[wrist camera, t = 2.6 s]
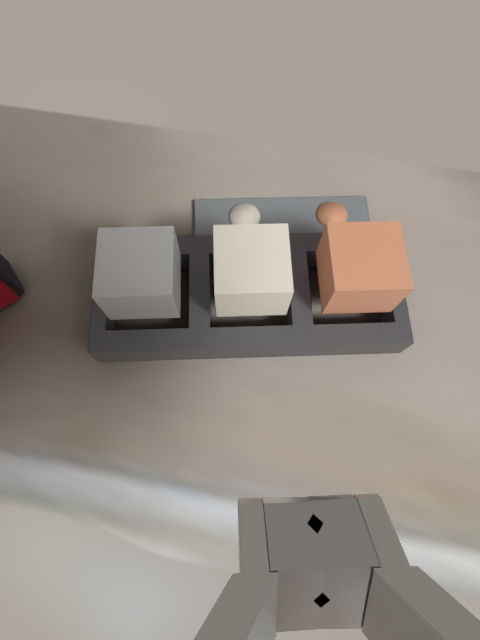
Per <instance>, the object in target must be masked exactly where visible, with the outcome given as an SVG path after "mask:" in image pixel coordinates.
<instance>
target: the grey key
mask: <svg viewBox="0 0 480 640" xmlns="http://www.w3.org/2000/svg"><path fill="white" fill-rule="evenodd" d="M92 298H93V300H94V301H95V302H96V303H97V305H98V306H99V307H100V308H101V309H102V311H103V312H104V313H105V314H106V315H107V317H108V318H109V319H110V320H119V319H155V318H180V305H181V253H180V249H179V245H178V241H177V237H176V233H175V228H174V226H144V227H99V228H98V233H97V244H96V255H95V266H94V277H93V288H92Z"/></svg>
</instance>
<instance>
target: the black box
mask: <svg viewBox="0 0 480 640" xmlns="http://www.w3.org/2000/svg"><path fill="white" fill-rule="evenodd" d="M23 292H24V289H23V287H22V285H21V283H20V281H19V280H18V278H17V276H16V274H15V272H14V271H13V269H12V267H11V265H10V264H9V262H8V261H7V260H6V259H5V258H4V257H3V256H2V255H1V254H0V310H1V309H3V308H4V307H6V306H8V305H10V304H12V303H13V302H15V301H17V300H18V299H19V297H18V296H19V295H21V294H22V293H23Z"/></svg>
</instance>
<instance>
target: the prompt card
mask: <svg viewBox="0 0 480 640" xmlns="http://www.w3.org/2000/svg"><path fill="white" fill-rule="evenodd" d="M327 222H370V218H369V212H368V206H367V199H366V196H342V197H294V198H245V199H197V200H195V235H213V225H234V224H279V223H288V228H289V233H323V231H324V229H325V226H326V223H327Z"/></svg>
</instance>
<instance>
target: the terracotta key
mask: <svg viewBox="0 0 480 640" xmlns="http://www.w3.org/2000/svg"><path fill="white" fill-rule="evenodd" d="M316 261H317V271H318V280H319V289H320V299H321V308H322V314H336V313H372V312H391V311H392V310H393V309H394V308H395V307H396V306H397V305H398V304H399V303H400V302H401V301H402V300H403V299H404V298H405V297H406V296H407V295H408V294H409V293H410V292H411V291H412V290H413V289H414V288H413V283H412V278H411V273H410V267H409V262H408V257H407V251H406V246H405V241H404V235H403V230H402V225H401V221H370V222H327V223H326V226H325V229H324V231H323V234H322V237H321V239H320V242H319V245H318V247H317V250H316Z"/></svg>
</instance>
